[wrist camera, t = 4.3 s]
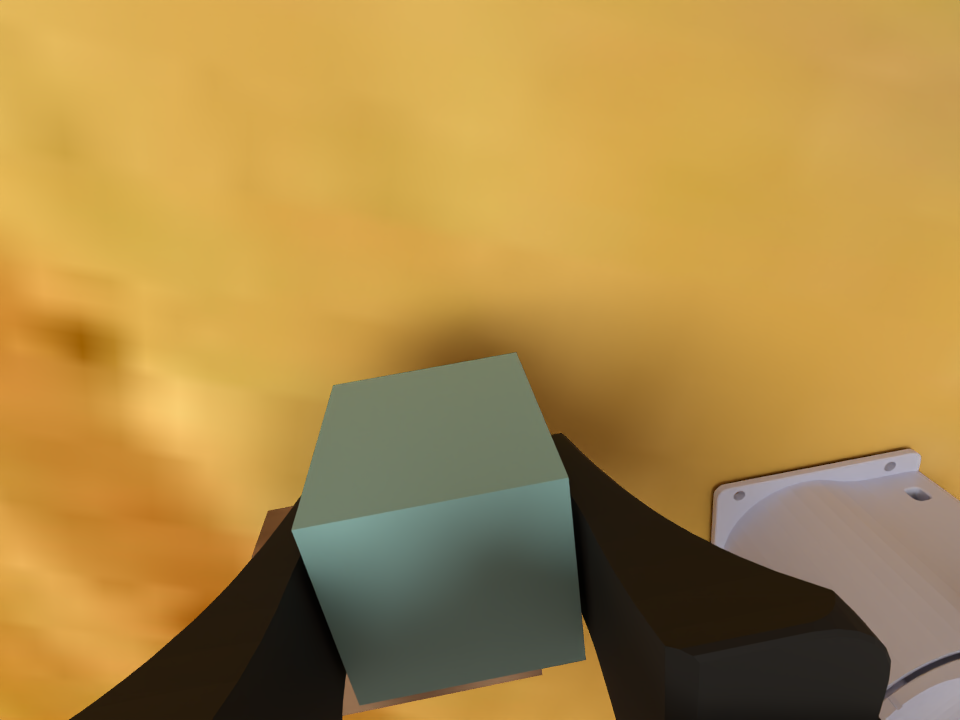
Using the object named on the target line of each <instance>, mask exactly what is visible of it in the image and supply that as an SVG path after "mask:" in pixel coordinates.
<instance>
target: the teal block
mask: <svg viewBox="0 0 960 720" xmlns="http://www.w3.org/2000/svg"><path fill="white" fill-rule="evenodd" d="M292 533H293V536H294V538H295V541H296V543H297V546H298V548H299V551H300V554H301V556H302V559H303V561H304V564H305V567H306V569H307V572H308V574H309V577H310V579H311V582H312V585H313V587H314V590H315V592H316V595H317V597H318V600H319V603H320V605H321V608H322V610H323V613H324V616H325V618H326V621H327V623H328V626H329V628H330V631H331V634H332V636H333V639H334V641H335V644H336V646H337V649H338V652H339V654H340V657H341V659H342V662H343V665H344V667H345V670H346V672H347V675H348V677H349V680H350V683H351V685H352V688H353V690H354V693H355V695H356V698H357V701H358V703H359V706H361V705H366V704H370V703H375V702H380V701H385V700H390V699H395V698H400V697H405V696H410V695H415V694H420V693H425V692H430V691H435V690H440V689H444V688H449V687H454V686H459V685H464V684H469V683H474V682H479V681H484V680H489V679H494V678H499V677H504V676H509V675H514V674H518V673H523V672H528V671H533V670H538V669H543V668H548V667H553V666H558V665H563V664H568V663H573V662H578V661H583V660H586V657H585V646H584V636H583V625H582V614H581V604H580V593H579V583H578V572H577V561H576V551H575V540H574V530H573V519H572V509H571V498H570V487H569V477H568V475H567V473H566V470H565V468H564V465H563V463H562V461H561V458H560V456H559V453H558V451H557V449H556V446H555V444H554V441H553V439H552V437H551V434H550V432H549V429H548V427H547V425H546V422H545V420H544V417H543V415H542V413H541V410H540V408H539V405H538V403H537V401H536V398H535V396H534V393H533V391H532V389H531V386H530V384H529V381H528V379H527V377H526V374H525V372H524V370H523V367H522V365H521V362H520V360H519V358H518V355H517V353H516V352H515V353H510V354H504V355H499V356H493V357H487V358H482V359H476V360H471V361H465V362H460V363H454V364H449V365H443V366H438V367H432V368H427V369H421V370H416V371H410V372H405V373H399V374H393V375H388V376H382V377H377V378H371V379H366V380H360V381H355V382H349V383H344V384H338V385H333V388H332V391H331V395H330V398H329V402H328V405H327V409H326V412H325V416H324V419H323V423H322V426H321V430H320V433H319V437H318V440H317V443H316V447H315V450H314V454H313V457H312V461H311V464H310V468H309V471H308V475H307V478H306V482H305V485H304V489H303V492H302V495H301V499H300V502H299V506H298V509H297V513H296V516H295V520H294V523H293V527H292Z"/></svg>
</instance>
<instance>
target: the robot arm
mask: <svg viewBox="0 0 960 720" xmlns="http://www.w3.org/2000/svg"><path fill="white" fill-rule="evenodd" d="M551 437H552V439H553V441H554V444H555V446H556V449H557V451H558V453H559V456H560V458H561V461H562V463H563V465H564V468H565V470H566V473H567V475H568V477H569V487H570V498H571V509H572V519H573V530H574V540H575V551H576V561H577V572H578V583H579V593H580V604H581V613H582V615H583V618H584V620H585V623H586V625H587V627H588V630H589V633H590V636H591V638H592V641H593V644H594V647H595V650H596V653H597V656H598V659H599V663H600V666H601V669H602V673H603V676H604V680H605V683H606V686H607V690H608V693H609V696H610V700H611V703H612V707H613V710H614V714H615V717H616V720H960V501H959V500H958V499H956V498H955V497H953V496H952V495H951V494H949V493H948V492H947V491H945V490H944V489H942V488H941V487H940V486H938V485H937V484H936V483H934V482H933V481H932V480H930V479H929V478H927V477H926V476H925V475H923V474H922V473H921V472H919V471H918V470H919V466H920V462H921V456H920V454H919V453H917V452H916V451H914V450H912V449H904V450H899V451H894V452H889V453H884V454H879V455H873V456H868V457H863V458H858V459H853V460H847V461H842V462H837V463H832V464H827V465H822V466H816V467H811V468H806V469H801V470H796V471H790V472H785V473H780V474H775V475H770V476H765V477H759V478H754V479H749V480H744V481H739V482H733V483H728V484H724V485H721V486H719V487H718V488H717V489H716V490H715V492H714V498H713V517H712V535H711V543H710V542H708V541H706V540H704V539H702V538H700V537H698V536H696V535H694V534H692V533H690V532H689V531H687V530H685V529H683V528H681V527H680V526H678V525H676V524H675V523H673V522H671V521H670V520H668V519H666V518H665V517H663V516H661V515H660V514H658V513H657V512H655V511H654V510H652V509H651V508H649V507H648V506H646V505H645V504H644V503H642V502H641V501H640V500H638V499H637V498H635V497H634V496H633V495H631V494H630V493H629V492H627V491H626V490H625V489H623V488H622V487H621V486H620V485H618V484H617V483H616V482H615V481H614V480H612V479H611V478H610V477H609V476H608V475H606V474H605V473H604V472H603V471H602V470H600V469H599V468H598V467H597V466H596V465H595V464H594V463H593V462H591V461H590V460H589V459H588V458H587V457H586V456H585V455H584V454H583V453H582V452H581V451H580V450H579V449H578V448H577V447H576V446H575V445H574V444H573V443H572V442H571V441H570V440H569V439H568V438H567V437H566V436H564V435H563V434H562V433H559V434H554V435H551ZM737 492H738V493H737ZM735 493H737V494H735ZM734 494H735V495H734ZM300 499H301V496H300V498H299V499H298V500H297V502H296V503H295V504H294V506H293V507H292V509H291V510H290V511H289V513H288V514H287V515H286V517H285V518H284V519H283V521H282V522H281V523H280V525H279V526H278V527H277V528H276V530H275V531H274V532H273V534H272V535H271V536H270V537H269V539H268V540H267V541H266V543H265V544H264V545H263V546H262V547H261V549H260V550H259V551H258V552H257V553H256V554H255V556H254V557H253V558H252V559H251V560H250V562H249V563H248V564H247V565H246V566H245V567H244V569H243V570H242V571H241V572H240V573H239V574H238V576H237V577H236V578H235V579H234V580H233V581H232V582H231V583H230V584H229V586H228V587H227V588H226V589H225V590H224V591H223V592H222V593H221V594H220V595H219V596H218V597H217V598H216V599H215V600H214V601H213V602H212V603H211V604H210V605H209V606H208V607H207V608H206V609H205V610H204V611H203V612H202V613H201V614H200V615H199V616H198V617H197V618H196V619H195V620H194V621H193V622H191V623H190V624H189V625H188V626H187V627H186V628H185V629H184V630H182V631H181V632H180V633H179V634H178V635H177V636H176V637H174V638H173V639H172V640H171V641H170V642H169V643H168V644H166V645H165V646H164V647H163V648H162V649H161V650H160V651H159V652H157V653H156V654H155V655H154V656H153V657H152V658H150V659H149V660H148V661H147V662H146V663H144V664H143V665H142V666H141V667H139V668H138V669H137V670H136V671H134V672H133V673H132V674H131V675H129V676H128V677H127V678H126V679H124V680H123V681H122V682H120V683H119V684H118V685H116V686H115V687H114V688H112V689H111V690H110V691H108V692H107V693H106V694H104V695H103V696H102V697H100V698H99V699H98V700H96V701H95V702H94V703H92V704H91V705H89V706H88V707H87V708H85V709H84V710H83V711H81V712H80V713H78V714H77V715H75V716H74V717H72V718H71V719H69V720H342V713H343V698H344V689H345V680H346V673H347V672H346V670H345V667H344V665H343V662H342V659H341V657H340V654H339V652H338V649H337V646H336V644H335V641H334V639H333V636H332V634H331V631H330V628H329V626H328V623H327V621H326V618H325V616H324V613H323V610H322V608H321V605H320V603H319V600H318V597H317V595H316V592H315V590H314V587H313V585H312V582H311V579H310V577H309V574H308V572H307V569H306V567H305V564H304V561H303V559H302V556H301V554H300V551H299V548H298V546H297V543H296V541H295V538H294V536H293V533H292V527H293V523H294V520H295V516H296V513H297V509H298V506H299V502H300Z"/></svg>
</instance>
